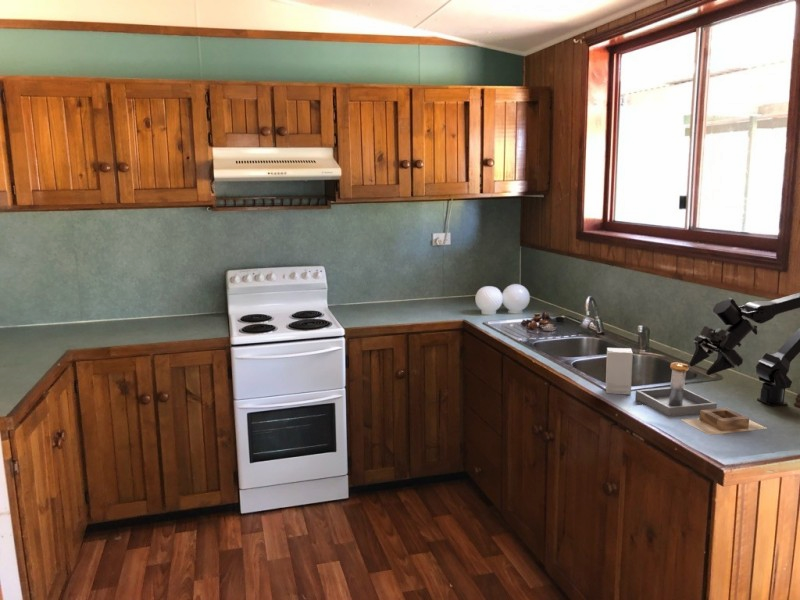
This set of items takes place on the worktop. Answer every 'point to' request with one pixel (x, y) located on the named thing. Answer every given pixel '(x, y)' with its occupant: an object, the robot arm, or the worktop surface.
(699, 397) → the tray
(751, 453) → the worktop surface
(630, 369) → the skincare box
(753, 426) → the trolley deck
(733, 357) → the robot arm
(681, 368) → the pin
